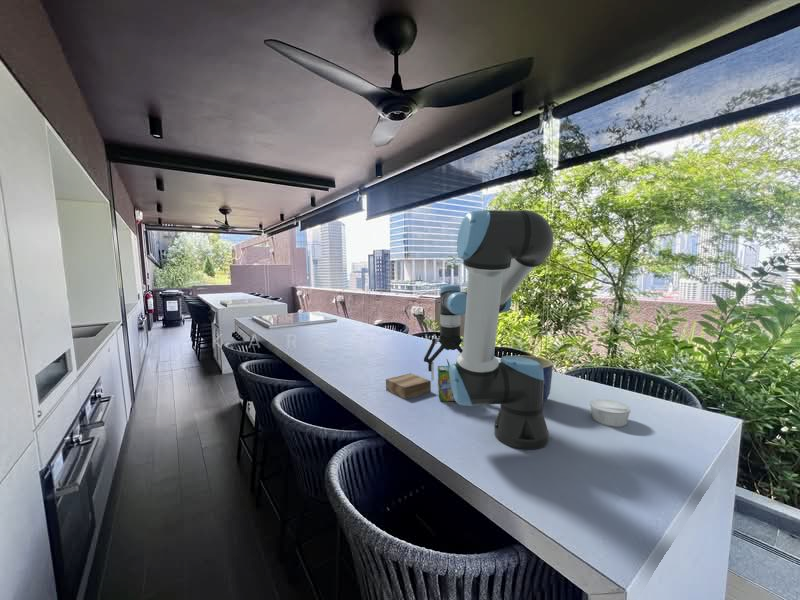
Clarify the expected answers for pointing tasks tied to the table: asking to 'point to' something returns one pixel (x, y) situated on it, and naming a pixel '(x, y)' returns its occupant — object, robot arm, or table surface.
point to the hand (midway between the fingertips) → (450, 379)
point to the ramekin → (609, 412)
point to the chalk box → (444, 384)
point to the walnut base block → (408, 386)
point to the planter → (547, 372)
